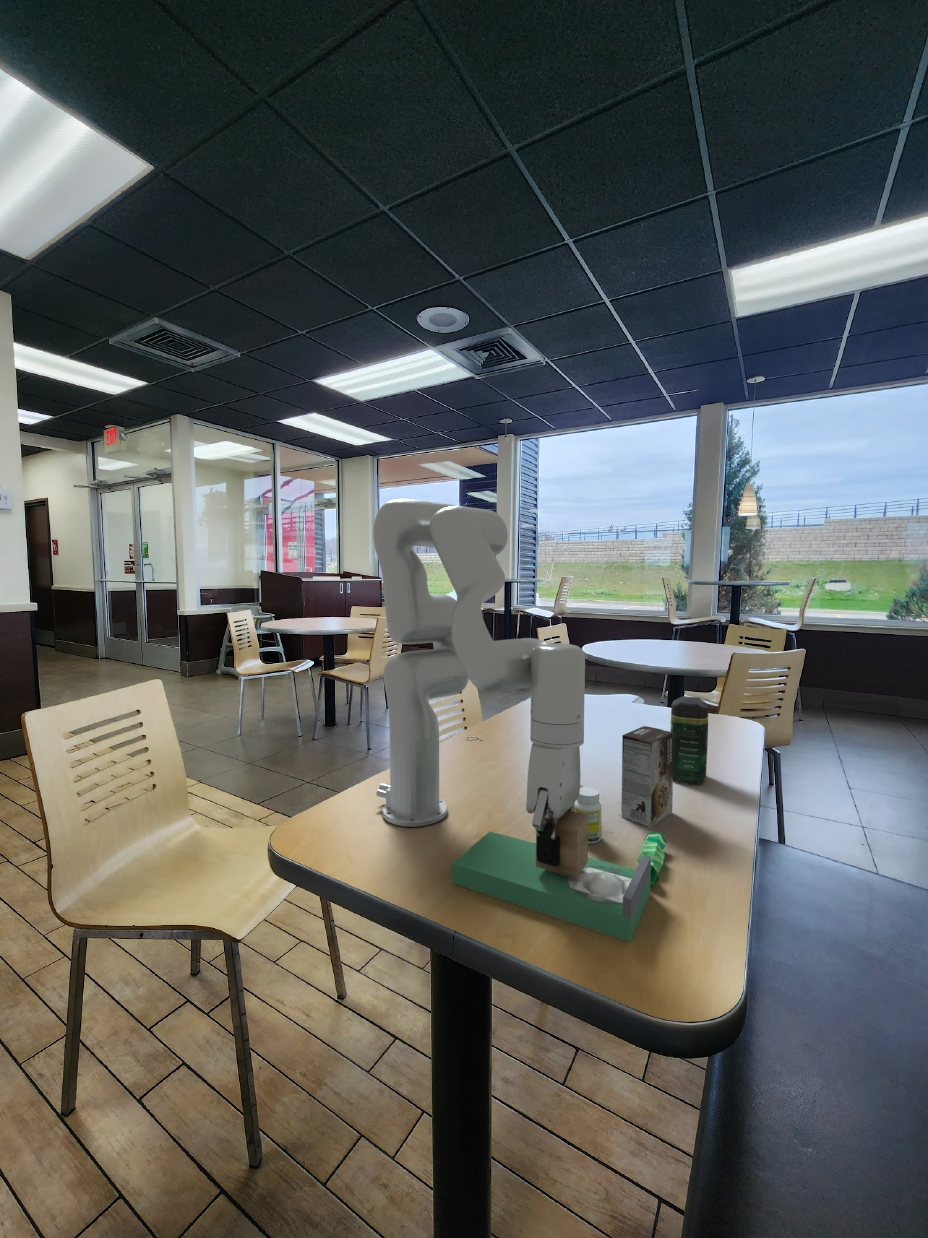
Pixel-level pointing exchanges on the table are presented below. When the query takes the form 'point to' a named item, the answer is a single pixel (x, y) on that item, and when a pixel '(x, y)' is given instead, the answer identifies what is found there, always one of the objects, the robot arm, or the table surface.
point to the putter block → (570, 844)
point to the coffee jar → (689, 739)
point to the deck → (554, 885)
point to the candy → (654, 853)
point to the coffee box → (647, 775)
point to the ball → (605, 885)
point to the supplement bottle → (590, 812)
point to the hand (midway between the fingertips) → (555, 853)
